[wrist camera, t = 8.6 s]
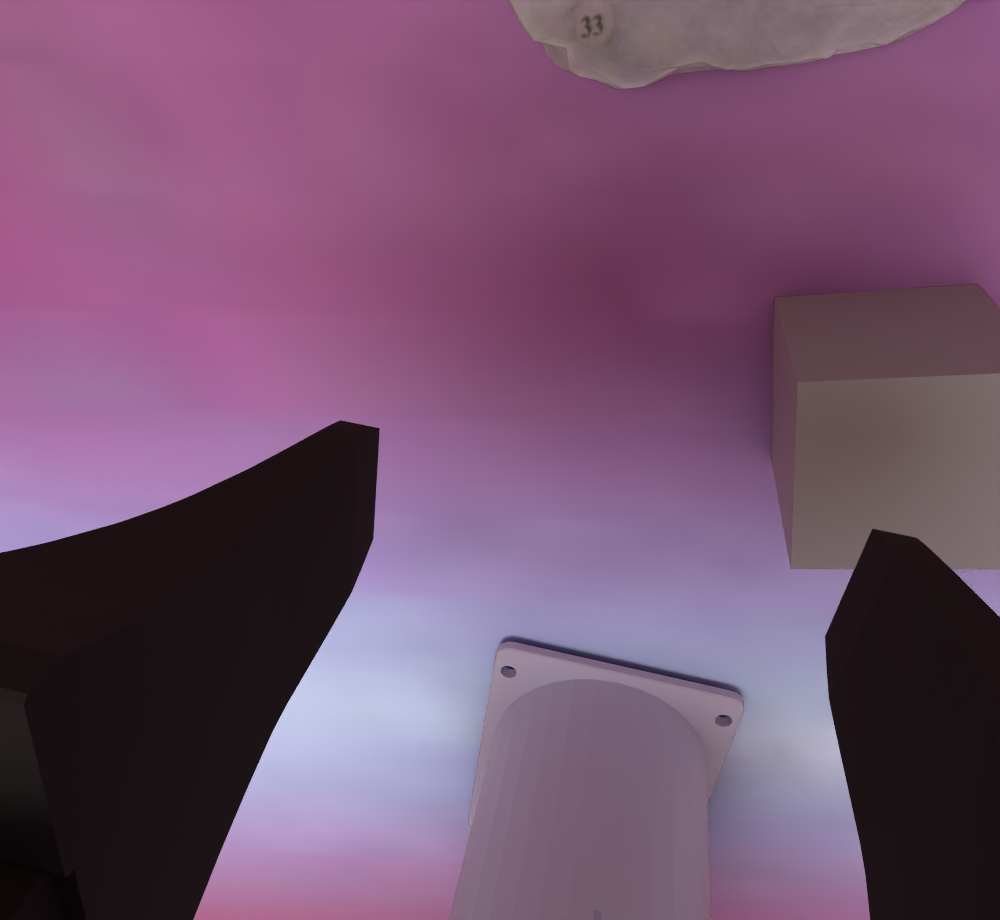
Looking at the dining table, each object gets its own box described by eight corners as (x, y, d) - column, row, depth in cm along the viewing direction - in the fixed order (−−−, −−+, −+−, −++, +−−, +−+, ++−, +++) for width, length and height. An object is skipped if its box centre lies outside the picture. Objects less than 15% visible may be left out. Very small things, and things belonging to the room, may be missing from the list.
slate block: (953, 451, 22) (1018, 569, 18) (770, 456, 23) (790, 568, 19) (977, 282, 20) (1056, 370, 16) (774, 296, 21) (798, 382, 17)
